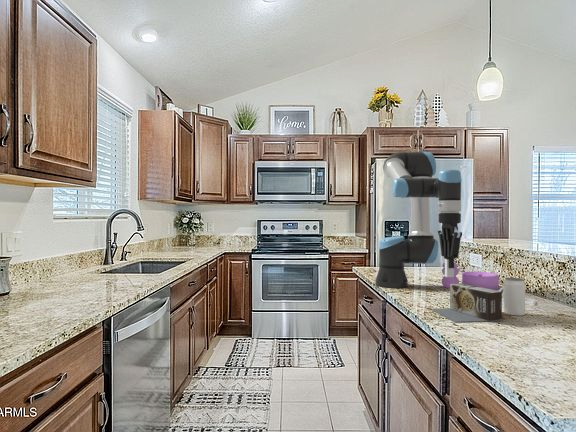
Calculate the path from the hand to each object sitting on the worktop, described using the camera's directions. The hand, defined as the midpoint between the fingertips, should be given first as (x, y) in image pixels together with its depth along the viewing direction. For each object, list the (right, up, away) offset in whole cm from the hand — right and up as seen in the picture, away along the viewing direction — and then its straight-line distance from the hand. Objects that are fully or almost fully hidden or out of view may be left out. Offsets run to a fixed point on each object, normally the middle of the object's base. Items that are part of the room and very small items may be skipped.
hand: (449, 276), depth 139 cm
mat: (+1, -12, -10) cm, 15 cm away
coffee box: (+1, -7, -2) cm, 7 cm away
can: (+19, -12, -8) cm, 24 cm away
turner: (+13, -12, -8) cm, 19 cm away
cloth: (+29, -12, +14) cm, 34 cm away
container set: (+26, -11, +39) cm, 48 cm away
